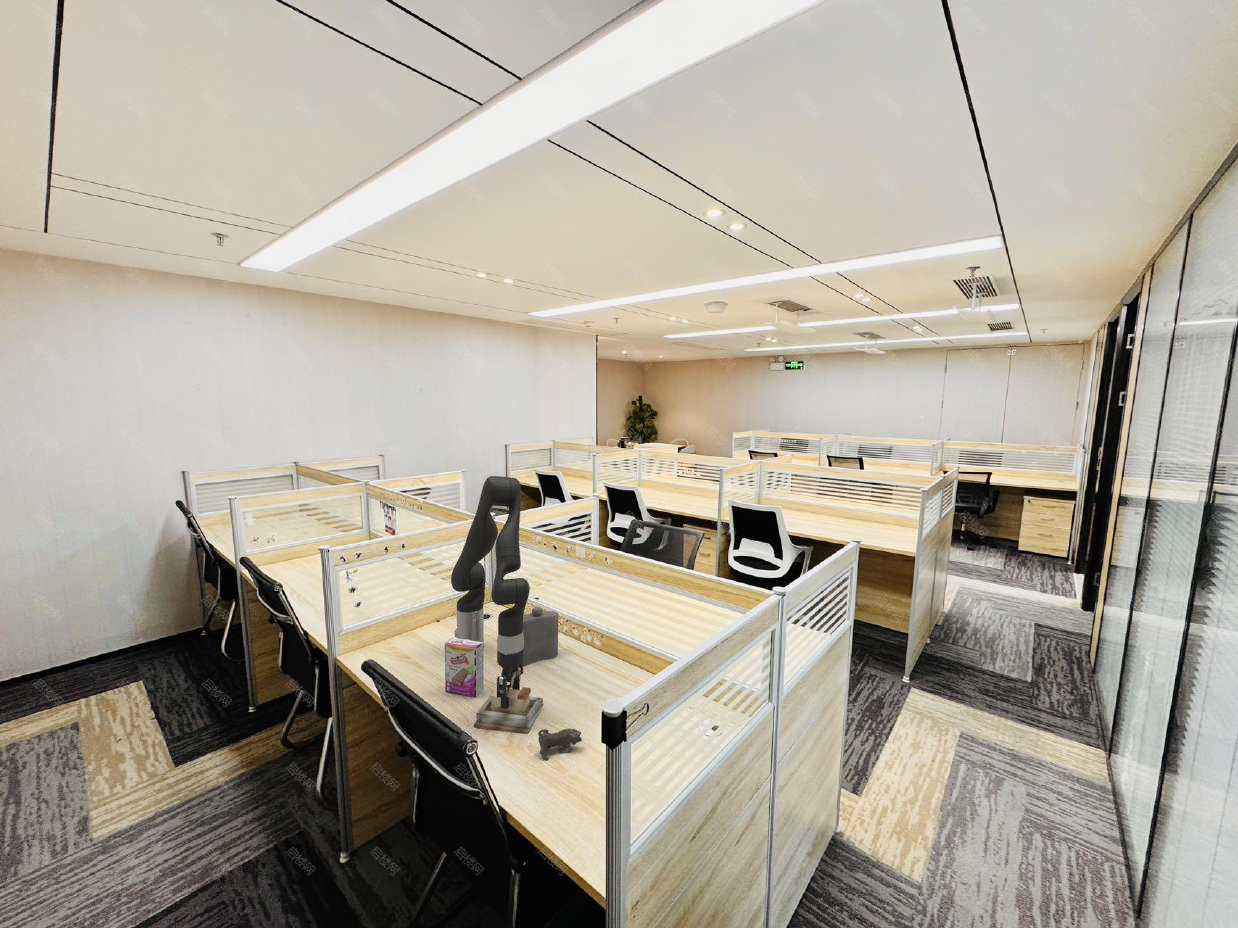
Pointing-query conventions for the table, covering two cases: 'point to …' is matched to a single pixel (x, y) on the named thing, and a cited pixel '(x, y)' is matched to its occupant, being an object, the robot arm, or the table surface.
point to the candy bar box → (464, 667)
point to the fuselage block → (513, 702)
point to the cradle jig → (508, 717)
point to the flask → (540, 635)
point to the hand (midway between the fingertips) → (510, 699)
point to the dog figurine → (558, 740)
